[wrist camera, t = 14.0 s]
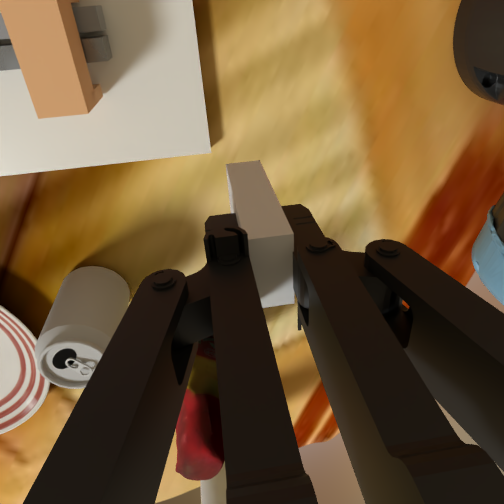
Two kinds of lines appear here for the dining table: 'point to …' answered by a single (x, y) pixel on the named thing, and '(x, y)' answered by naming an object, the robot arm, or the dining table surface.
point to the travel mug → (214, 489)
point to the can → (81, 325)
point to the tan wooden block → (50, 56)
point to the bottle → (201, 419)
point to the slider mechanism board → (116, 94)
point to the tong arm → (92, 46)
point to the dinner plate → (18, 373)
